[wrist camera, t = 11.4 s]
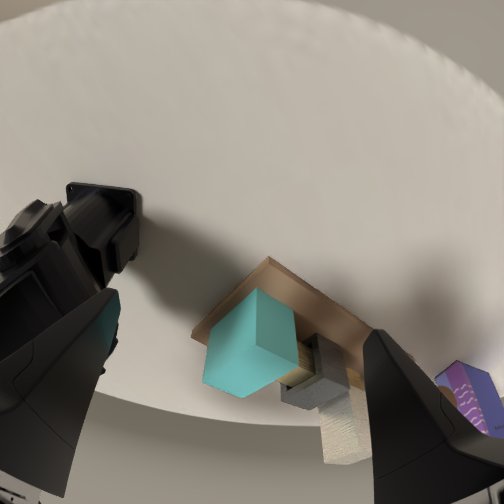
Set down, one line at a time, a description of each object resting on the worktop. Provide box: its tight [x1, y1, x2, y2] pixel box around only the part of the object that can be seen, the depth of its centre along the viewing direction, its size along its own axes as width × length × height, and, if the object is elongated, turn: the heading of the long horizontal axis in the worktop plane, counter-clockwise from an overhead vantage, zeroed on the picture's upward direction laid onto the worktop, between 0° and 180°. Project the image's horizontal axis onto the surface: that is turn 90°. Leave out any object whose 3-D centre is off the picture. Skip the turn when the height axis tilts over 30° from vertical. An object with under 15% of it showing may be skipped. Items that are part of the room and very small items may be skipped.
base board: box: [191, 256, 415, 391], centre depth 30 cm, size 26×12×1 cm, turn 51°
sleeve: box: [280, 332, 351, 410], centre depth 27 cm, size 4×5×5 cm
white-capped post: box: [275, 342, 372, 465], centre depth 23 cm, size 16×4×10 cm, turn 51°
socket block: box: [202, 287, 299, 398], centre depth 24 cm, size 4×7×6 cm, turn 141°
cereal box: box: [435, 360, 504, 438], centre depth 27 cm, size 17×5×24 cm, turn 61°
